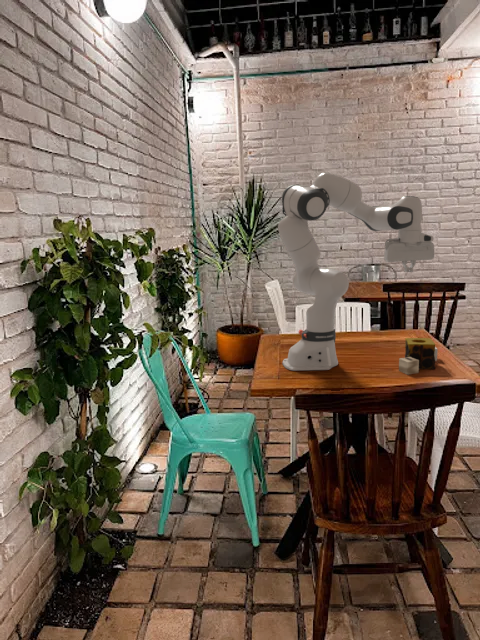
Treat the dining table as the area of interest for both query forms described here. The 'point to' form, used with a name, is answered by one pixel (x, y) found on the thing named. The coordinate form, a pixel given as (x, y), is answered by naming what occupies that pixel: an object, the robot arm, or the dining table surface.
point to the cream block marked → (435, 353)
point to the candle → (421, 351)
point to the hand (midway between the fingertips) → (408, 272)
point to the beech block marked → (408, 365)
